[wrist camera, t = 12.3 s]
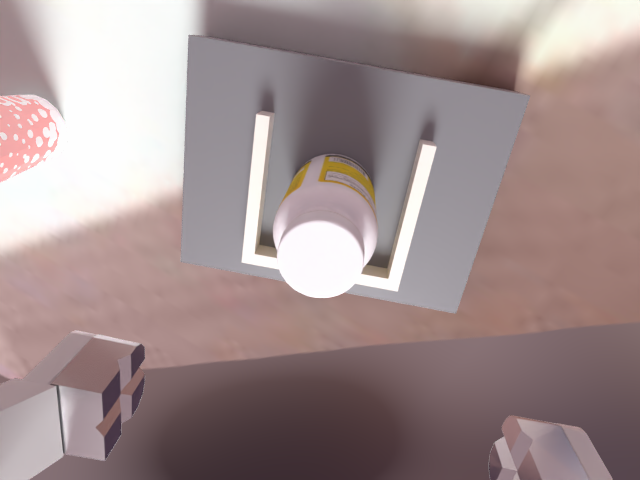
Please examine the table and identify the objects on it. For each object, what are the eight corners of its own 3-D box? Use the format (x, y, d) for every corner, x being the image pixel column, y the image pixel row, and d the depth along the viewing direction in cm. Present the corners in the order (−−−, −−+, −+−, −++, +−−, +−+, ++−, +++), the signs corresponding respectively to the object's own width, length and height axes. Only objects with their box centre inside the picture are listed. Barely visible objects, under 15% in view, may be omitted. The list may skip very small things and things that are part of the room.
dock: (195, 244, 35) (172, 271, 31) (205, 35, 29) (178, 34, 25) (448, 292, 34) (459, 325, 30) (514, 90, 28) (539, 98, 24)
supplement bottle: (304, 239, 30) (279, 320, 22) (281, 163, 28) (243, 218, 20) (383, 222, 29) (390, 300, 20) (364, 142, 27) (363, 189, 19)
